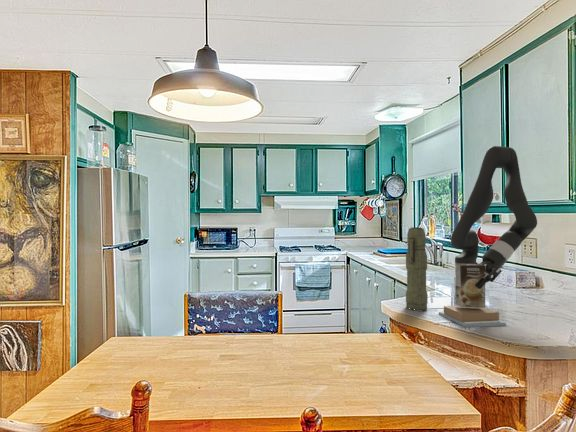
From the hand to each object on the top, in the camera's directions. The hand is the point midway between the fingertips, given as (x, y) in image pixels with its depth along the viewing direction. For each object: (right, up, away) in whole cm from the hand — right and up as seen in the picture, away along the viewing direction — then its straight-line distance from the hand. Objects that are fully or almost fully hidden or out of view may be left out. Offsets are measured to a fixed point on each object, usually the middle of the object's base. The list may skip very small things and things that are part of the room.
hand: (470, 285), depth 145 cm
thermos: (-15, -13, +18) cm, 27 cm away
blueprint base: (0, -13, 0) cm, 13 cm away
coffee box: (0, -8, 0) cm, 8 cm away
